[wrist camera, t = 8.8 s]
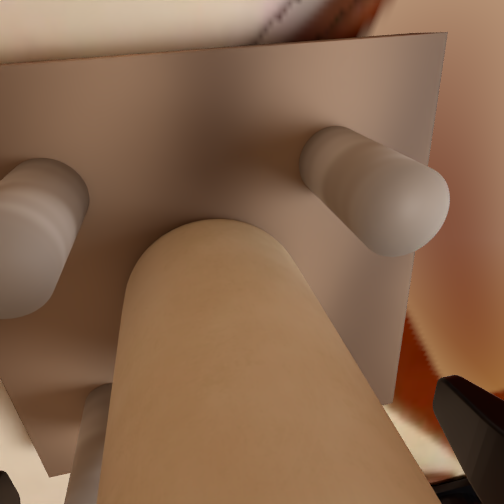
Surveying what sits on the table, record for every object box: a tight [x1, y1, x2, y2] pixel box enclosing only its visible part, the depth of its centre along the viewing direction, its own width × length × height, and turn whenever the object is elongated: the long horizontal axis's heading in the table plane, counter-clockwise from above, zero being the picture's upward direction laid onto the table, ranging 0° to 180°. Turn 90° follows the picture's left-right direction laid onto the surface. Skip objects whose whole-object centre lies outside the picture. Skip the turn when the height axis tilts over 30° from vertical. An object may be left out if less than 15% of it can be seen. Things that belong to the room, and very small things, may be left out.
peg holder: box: [0, 32, 450, 504], centre depth 12 cm, size 14×14×6 cm
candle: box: [96, 219, 442, 504], centre depth 9 cm, size 6×6×10 cm
